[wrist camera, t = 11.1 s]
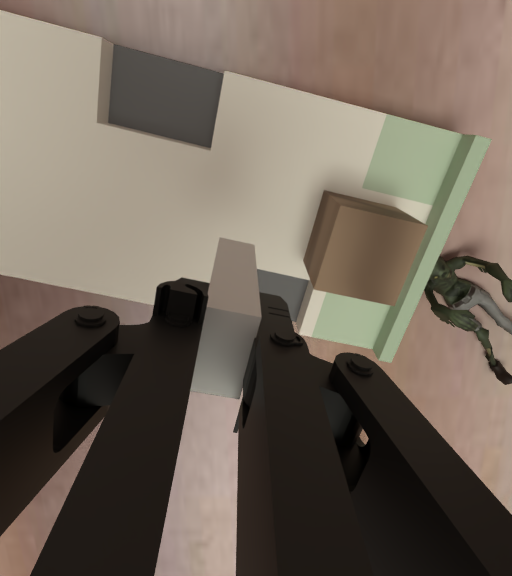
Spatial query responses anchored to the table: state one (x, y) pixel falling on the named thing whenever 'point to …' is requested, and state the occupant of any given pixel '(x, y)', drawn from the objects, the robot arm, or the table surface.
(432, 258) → the trap board
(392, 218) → the walnut block
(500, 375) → the zombie figurine
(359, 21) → the table surface
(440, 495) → the robot arm
